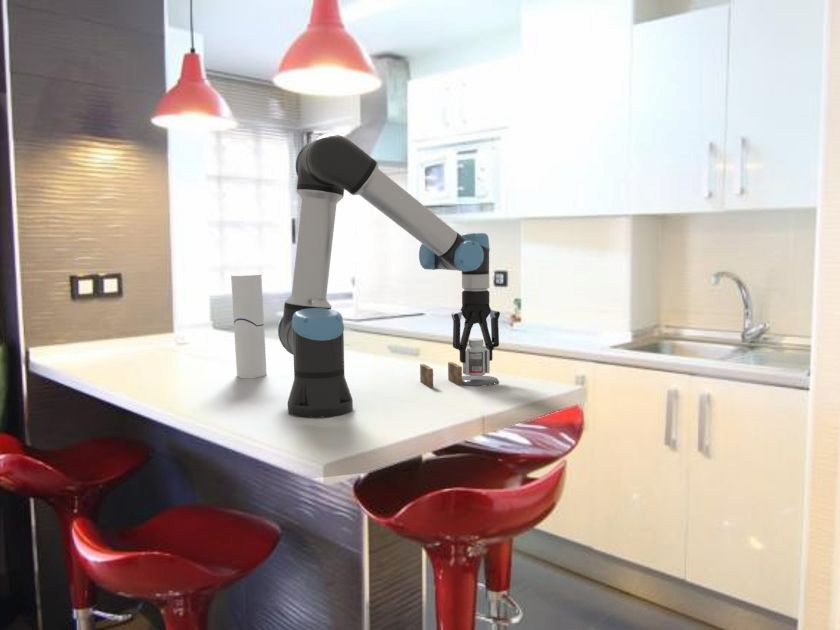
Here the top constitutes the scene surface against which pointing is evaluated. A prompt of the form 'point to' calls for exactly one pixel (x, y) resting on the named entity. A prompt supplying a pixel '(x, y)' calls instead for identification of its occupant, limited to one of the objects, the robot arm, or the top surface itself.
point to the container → (248, 325)
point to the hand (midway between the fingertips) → (476, 373)
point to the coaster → (478, 380)
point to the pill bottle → (477, 357)
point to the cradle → (453, 374)
